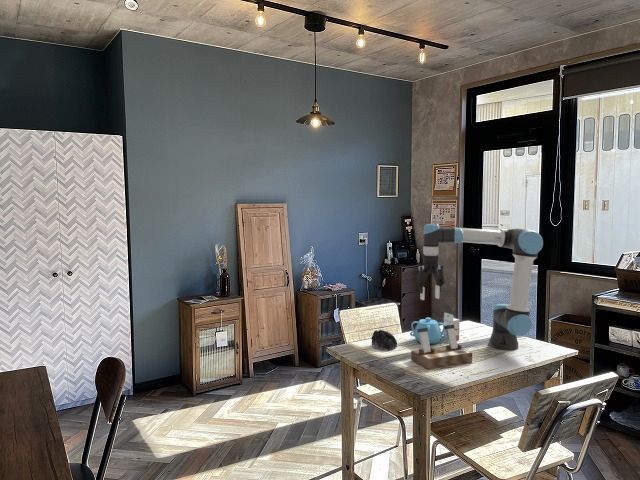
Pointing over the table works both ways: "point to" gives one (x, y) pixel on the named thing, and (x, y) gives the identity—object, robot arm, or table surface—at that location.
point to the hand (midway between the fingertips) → (429, 298)
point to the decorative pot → (429, 330)
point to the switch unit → (441, 357)
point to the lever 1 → (424, 339)
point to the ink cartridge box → (454, 322)
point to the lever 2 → (451, 336)
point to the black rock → (383, 340)
